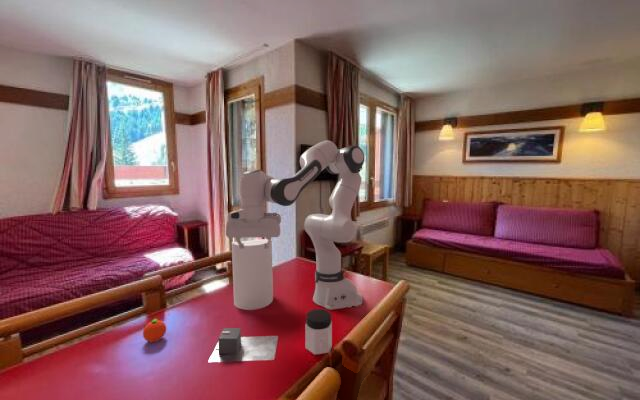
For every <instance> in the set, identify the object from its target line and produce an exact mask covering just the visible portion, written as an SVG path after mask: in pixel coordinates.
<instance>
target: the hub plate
mask: <svg viewBox="0 0 640 400" xmlns="http://www.w3.org/2000/svg"><path fill="white" fill-rule="evenodd" d="M278 340H279V336H278V335H265V336H264V335H262V336H261V335H260V336H241V344H240V346H239V349H238V352H237V354H219V340H218V342H217V343H216V345H215V347H214V348H213V349H214V350H213V352H211V353H212V354H211V355H210V357H209V359H208V362H207V363H221V362H222V363H224V362H227V363H228V362H250V361H251V362H253V361H273V360H274V361H275V357H276V350H277V344H278Z"/></svg>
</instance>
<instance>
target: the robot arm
mask: <svg viewBox="0 0 640 400" xmlns="http://www.w3.org/2000/svg"><path fill="white" fill-rule="evenodd" d="M364 163H365V153H364V151H363V149H362V148H361V147H360V146H357V145H347V147H346V146H345V147H343V148H340V149H339V148H338V147H337V145H336V143H334V142H333V141H331V140H327V139H326V140H324V141H323V140H322V141H320V142H318V143H316V144H314V145H313V146H311V147H309V148H308V149H306V150H305V151H304V152H303V153H302V154H301V155H300V157H299V165H300V168H301V169H299V170H298V171H297V173H295V174H294V175H292V176H291V177H287V178H276V177H275V178H274V176H273V177H272V176H270V175H268V174H266V173H265V172H264V171H262V170H261V169H250V170H247V171H244V172H243V173H242V174H241V176H240V185H239V187H240V188H239V189H240V190H239V193H240V197H241V202H240V208H239V209H236V210H233V211H231V212H229V213H228V214H227V218H228V220H227V222H226V224H225V236H226V237H227V238H228V239H233V238H234V239H235V242H237V243H238V244H239V249H244V243H241V241H242V240H241V239H243V238H249V239H250V238H251V239H252V238H266V239H267V240H268V242H267V243H265V244H264V246H265V247H264V249H268V248H269V242H270V240H271V238H279V236H281V225H280V224H281V222H282V217H281V215H280V214H278V213H277V212H266V202H268V203H272V204H278V205H280V206H283V207H288V206H291V205H293V204H294V203H295V202H296V201H297V200H298V198H299V196H300V194H301V193H302V191H304V190H305V189H306V187H308V186H309V185H310V184H311V183H312V182H313V181H314V180H315V179H316V178H317V177H318V176H319V175H320V174H321V172H322V171H323V170H325V169H326V171H327V172H328V173H329V174H332V175H339V176H338V177H339V178H338V181H337V182H336V184H335V187H334V188H333V190H332V192H331V194H330V196H329V199H328V203H329V206H330V208H331V210H332V212H331V214H324V213H312V214H309V215H308V216H307V217H306V218H305V220H304V225H303V226H304V227H303V229H304V230H305V232H306V234H307V235H308V236H309V237H310V240H311V242H312V244H313V247H314V250H315V259H316V264H315V265H316V268H315V272H314V278H315V279H314V281H315V289H314V293H313V297H312V301H313V302H314V303H315V304H316V305H318V306H321V307H324V308H325V309H326V310H338V309H344V308H345V309H347V308H353V307H352V306H355V307H359V306H358V305H361V304H362V305H363V303H364V301H363V296H362V294H361V293H360V292H359V291H358V288H357V286H356V284H355V283H354V282H353V281H352V280H351V279H349V278H348V273H347V272H346V270H344V268H341V267H342V263H341V262H342V252H341V251H340V249H339V248H338V247H336V244H335V243H350V242H351V241H352V240H353V239H354V237H355V235H356V226H355V223H354V221H353V219H352V216H351V215H352V214H351V213H352V209H353V206H354V203H355V200H356V198H357V196H358V195H359V191H360V188H361V185H362V177H361V174H360V172H361V171H362V170H363V165H364ZM334 242H335V243H334ZM362 302H363V303H362ZM362 305H361V306H362ZM346 307H347V308H346Z"/></svg>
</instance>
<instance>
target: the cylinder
mask: <svg viewBox="0 0 640 400" xmlns="http://www.w3.org/2000/svg"><path fill="white" fill-rule="evenodd" d="M272 238H273V237H271V240H270V242H269V248H268V249H264V247H265V246H264V244H265V243H267V242H268V240H267V238H262V239H261V238H260V239H251V240H240V241H241V243H244V249H239V244H238V243H237V241H231V259H232V260H231V261H232V285H233V288H232V289H233V305H234V307H236V308H238V309H240V310H245V311H253V310H258V309H259V310H260V309H263V308H266V307H267V306H269V305H270V304H271V303H272V302H273V301H274V283H273V281H274V278H273V276H274V275H273V271H274V270H273V239H272Z"/></svg>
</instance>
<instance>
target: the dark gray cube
mask: <svg viewBox="0 0 640 400" xmlns="http://www.w3.org/2000/svg"><path fill="white" fill-rule="evenodd" d="M241 337H242V328H241V327H239V328H238V327H227V328H226V327H224V328H223V329H222V331H221V333H220V335H219V337H218V341H219V354H237V352H238V349H239V346H240V344H241Z"/></svg>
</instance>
